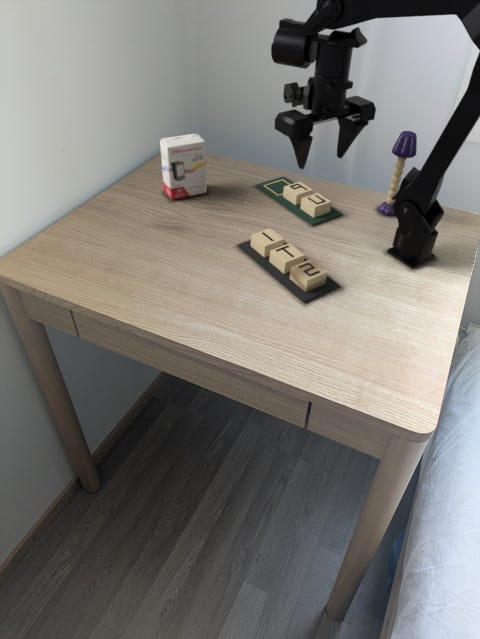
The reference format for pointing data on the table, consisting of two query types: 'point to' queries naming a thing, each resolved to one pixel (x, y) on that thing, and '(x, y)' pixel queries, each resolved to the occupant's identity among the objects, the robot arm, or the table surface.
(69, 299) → the table surface
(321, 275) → the tile
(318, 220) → the far word mat
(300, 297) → the near word mat
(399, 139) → the toy lamp
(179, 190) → the ink box
